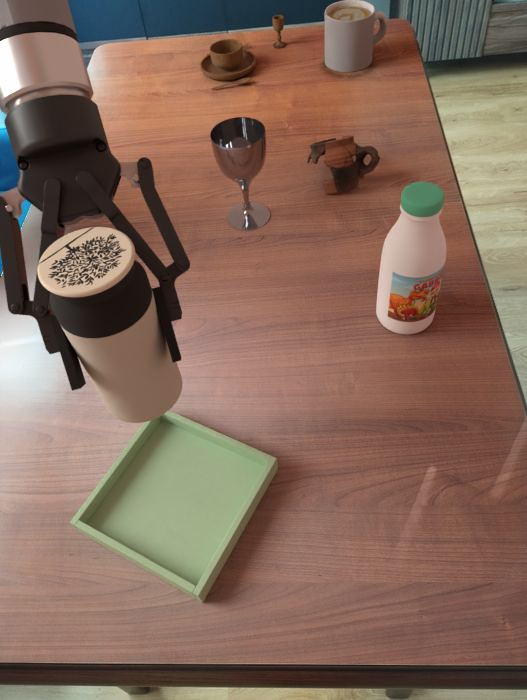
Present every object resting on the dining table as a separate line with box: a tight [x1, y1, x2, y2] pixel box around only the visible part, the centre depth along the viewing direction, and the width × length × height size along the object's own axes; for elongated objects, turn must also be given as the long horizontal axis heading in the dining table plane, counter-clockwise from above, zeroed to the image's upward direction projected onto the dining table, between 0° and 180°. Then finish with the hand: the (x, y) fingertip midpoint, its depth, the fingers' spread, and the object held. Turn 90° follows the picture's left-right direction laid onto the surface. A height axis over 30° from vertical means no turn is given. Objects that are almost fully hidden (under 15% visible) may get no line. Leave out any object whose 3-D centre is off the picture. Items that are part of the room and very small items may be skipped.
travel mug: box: [36, 226, 183, 424], centre depth 51 cm, size 8×8×18 cm
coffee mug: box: [324, 0, 388, 73], centre depth 120 cm, size 13×10×10 cm
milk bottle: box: [375, 180, 448, 335], centre depth 71 cm, size 8×8×20 cm
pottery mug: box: [306, 135, 381, 195], centre depth 97 cm, size 12×10×8 cm
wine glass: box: [209, 116, 271, 231], centre depth 89 cm, size 8×8×15 cm
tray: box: [69, 410, 279, 604], centre depth 64 cm, size 16×16×2 cm
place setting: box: [199, 14, 287, 90], centre depth 124 cm, size 18×20×6 cm
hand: (128, 373), depth 51 cm, fingers closed on travel mug, 8 cm apart
